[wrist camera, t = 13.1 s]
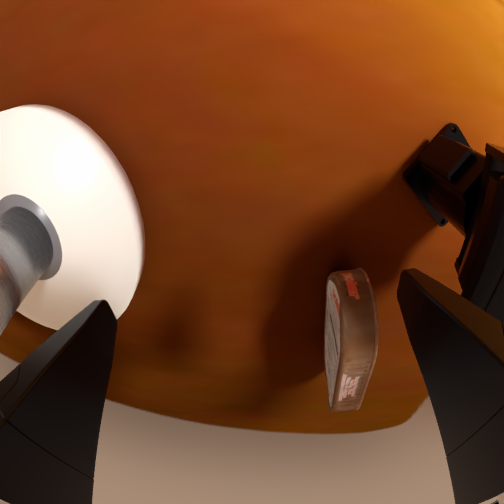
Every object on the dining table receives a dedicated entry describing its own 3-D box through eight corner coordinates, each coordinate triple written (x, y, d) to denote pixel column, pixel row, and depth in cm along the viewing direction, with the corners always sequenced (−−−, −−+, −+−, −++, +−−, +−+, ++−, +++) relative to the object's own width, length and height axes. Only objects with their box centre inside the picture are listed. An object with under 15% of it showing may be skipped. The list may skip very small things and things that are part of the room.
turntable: (199, 197, 19) (194, 210, 18) (100, 346, 28) (94, 360, 26) (-4, 66, 12) (-21, 69, 10) (-37, 247, 21) (-47, 257, 19)
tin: (344, 358, 31) (360, 422, 24) (317, 363, 31) (329, 428, 24) (356, 246, 23) (395, 321, 16) (319, 250, 23) (346, 330, 16)
